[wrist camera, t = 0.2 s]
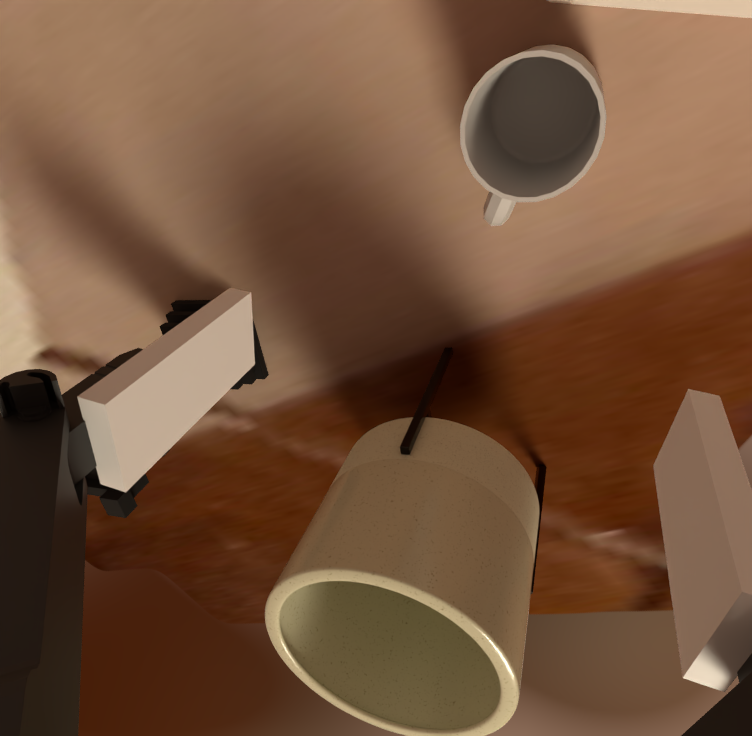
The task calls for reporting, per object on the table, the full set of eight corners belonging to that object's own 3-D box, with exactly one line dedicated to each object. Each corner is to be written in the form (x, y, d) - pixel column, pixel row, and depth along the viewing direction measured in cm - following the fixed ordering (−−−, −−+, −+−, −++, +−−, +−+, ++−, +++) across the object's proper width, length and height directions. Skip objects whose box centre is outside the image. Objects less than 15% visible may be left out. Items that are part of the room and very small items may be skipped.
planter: (543, 345, 44) (505, 583, 25) (551, 497, 51) (527, 768, 33) (364, 348, 49) (227, 545, 31) (395, 485, 57) (299, 711, 38)
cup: (627, 67, 33) (636, 80, 26) (551, 221, 39) (541, 267, 32) (513, 26, 34) (491, 28, 27) (455, 184, 40) (424, 220, 33)
